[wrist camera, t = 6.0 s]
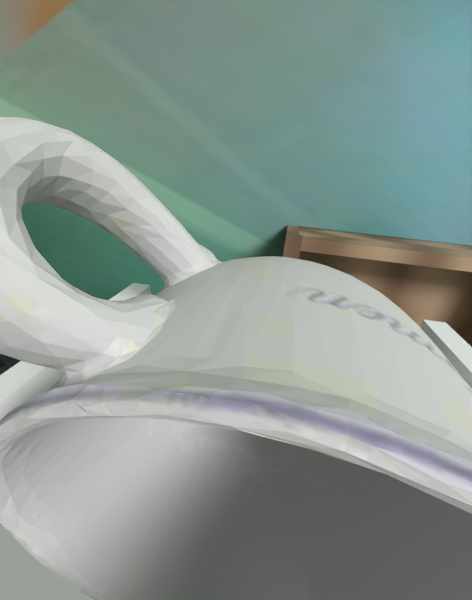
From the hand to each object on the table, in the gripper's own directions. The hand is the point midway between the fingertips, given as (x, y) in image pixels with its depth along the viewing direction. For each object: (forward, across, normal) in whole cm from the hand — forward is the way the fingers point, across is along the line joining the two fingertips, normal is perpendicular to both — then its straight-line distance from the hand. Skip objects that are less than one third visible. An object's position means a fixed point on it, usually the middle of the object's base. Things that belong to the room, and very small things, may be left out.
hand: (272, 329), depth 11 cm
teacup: (0, -1, 0) cm, 1 cm away
